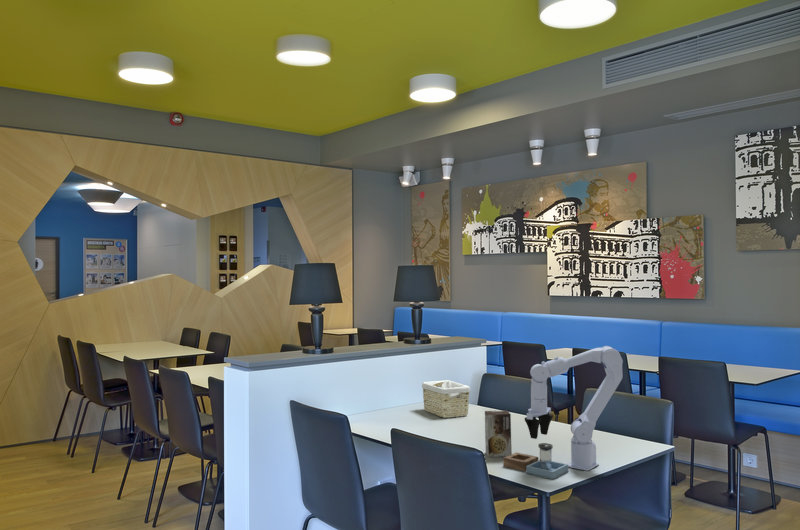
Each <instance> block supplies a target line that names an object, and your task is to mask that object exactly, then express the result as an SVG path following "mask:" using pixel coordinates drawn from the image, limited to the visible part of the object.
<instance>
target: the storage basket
mask: <svg viewBox="0 0 800 530" xmlns="http://www.w3.org/2000/svg"><path fill="white" fill-rule="evenodd" d="M421 388H422V392H423V393H422V395H423V396H422V397H423V398H422V399H423V409H424V411H425V412H428V413H430V414H432V415H434V416H438V417H440V418H443V419H446V418H448V419H450V418H454V417H456V418H457V417H466V416H468V414H469V403H470V402H469V401H470V393H471V386H470V385H466V384H462V383H460V382H457V381H453V380H450V379H444V380H434V381H433V380H432V381H424V382H422V384H421Z"/></svg>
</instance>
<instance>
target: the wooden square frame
mask: <svg viewBox="0 0 800 530" xmlns="http://www.w3.org/2000/svg"><path fill="white" fill-rule="evenodd" d="M502 459H503V460H502V462H503V463H502V464H503V465H502V466H503V467H505V468H508V469H509V468H510V469H514V470H518V471H521V472H522V471H524V472H526V466H528V465H530V464H532V463H535V462H537V461H539V456H537V455H536V456H535V455H530V454H526V453H521V452H517V451H516V452H513V453H512V454H511V455H509V456H503V458H502Z"/></svg>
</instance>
